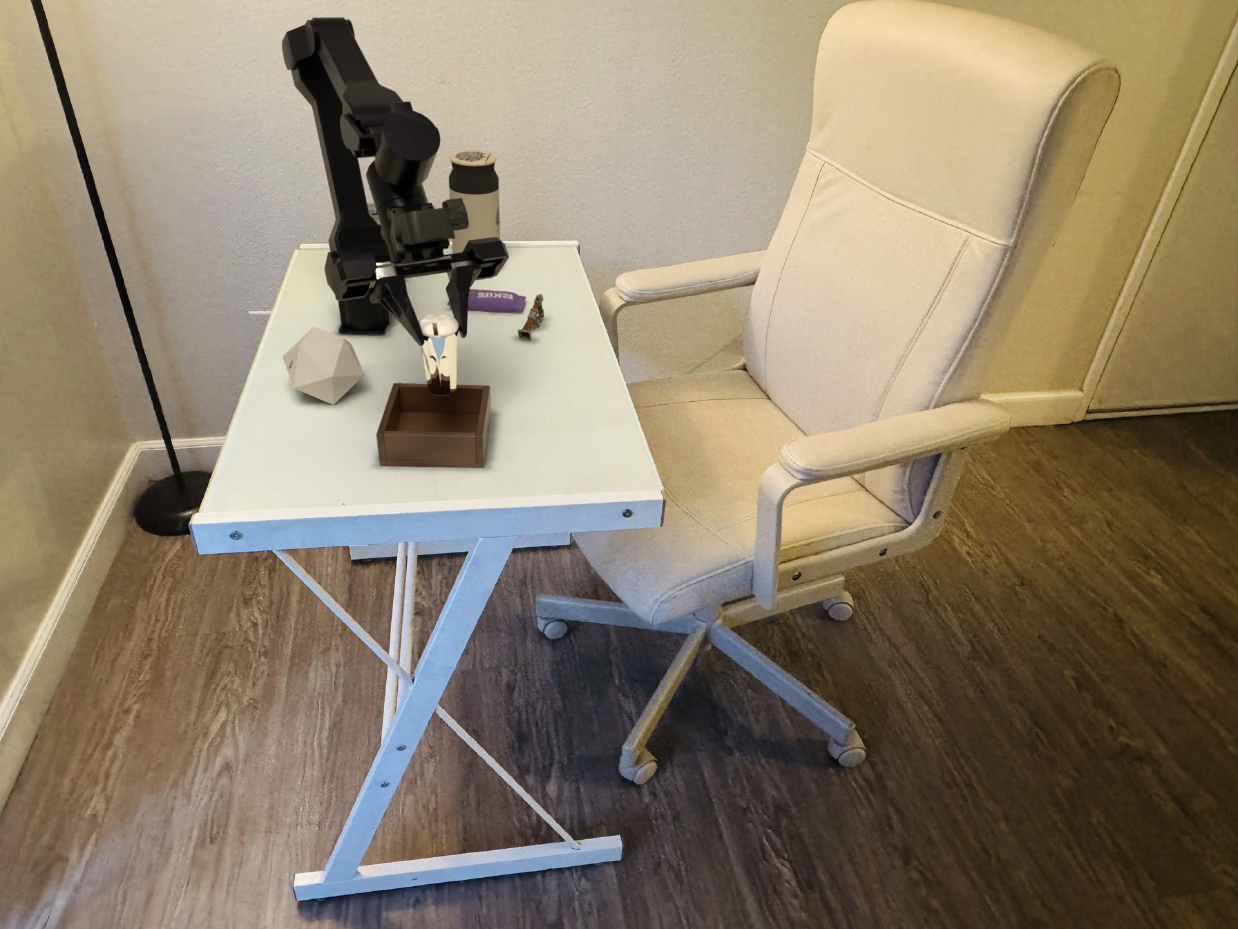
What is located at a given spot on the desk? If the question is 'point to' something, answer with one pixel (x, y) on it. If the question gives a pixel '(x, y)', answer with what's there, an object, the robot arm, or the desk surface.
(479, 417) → the open box
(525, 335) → the wooden post with brackets
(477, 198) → the travel mug
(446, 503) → the desk surface
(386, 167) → the robot arm
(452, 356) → the milkshake
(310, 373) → the die
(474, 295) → the snack package
